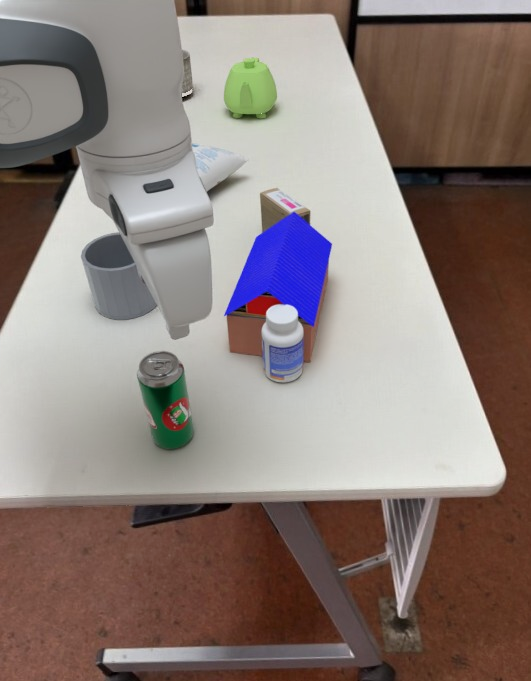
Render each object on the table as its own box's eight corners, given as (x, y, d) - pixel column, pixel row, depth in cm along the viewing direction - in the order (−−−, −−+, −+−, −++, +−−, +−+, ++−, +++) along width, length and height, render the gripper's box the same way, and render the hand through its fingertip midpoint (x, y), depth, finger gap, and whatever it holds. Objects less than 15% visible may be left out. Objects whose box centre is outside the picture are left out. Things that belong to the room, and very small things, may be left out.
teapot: (271, 127, 139) (271, 73, 131) (217, 126, 141) (213, 72, 132) (281, 98, 154) (281, 48, 145) (232, 97, 155) (229, 47, 147)
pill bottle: (311, 370, 77) (313, 314, 70) (281, 390, 74) (281, 333, 68) (284, 350, 80) (284, 294, 74) (254, 368, 77) (251, 312, 71)
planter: (198, 88, 161) (194, 48, 154) (187, 104, 152) (183, 63, 145) (154, 87, 163) (149, 48, 156) (141, 103, 153) (135, 62, 147)
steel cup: (103, 327, 85) (89, 277, 79) (88, 290, 92) (74, 242, 86) (169, 308, 88) (160, 259, 82) (150, 273, 95) (141, 226, 89)
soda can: (153, 420, 71) (137, 350, 63) (194, 417, 71) (183, 346, 63) (151, 453, 67) (133, 383, 59) (194, 450, 68) (182, 379, 60)
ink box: (310, 254, 98) (312, 210, 92) (292, 261, 96) (292, 217, 91) (278, 228, 104) (277, 185, 99) (260, 234, 103) (259, 191, 97)
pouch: (173, 125, 122) (108, 157, 109) (249, 145, 114) (189, 182, 101) (176, 160, 127) (114, 195, 114) (249, 182, 120) (192, 222, 107)
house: (227, 353, 80) (220, 286, 72) (257, 271, 94) (255, 208, 87) (312, 364, 78) (315, 296, 70) (330, 279, 92) (334, 214, 85)
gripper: (75, 130, 52) (105, 258, 61) (133, 238, 38) (162, 382, 47) (142, 118, 54) (162, 244, 63) (221, 216, 40) (232, 359, 49)
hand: (163, 304), depth 55 cm, fingers open, 8 cm apart
